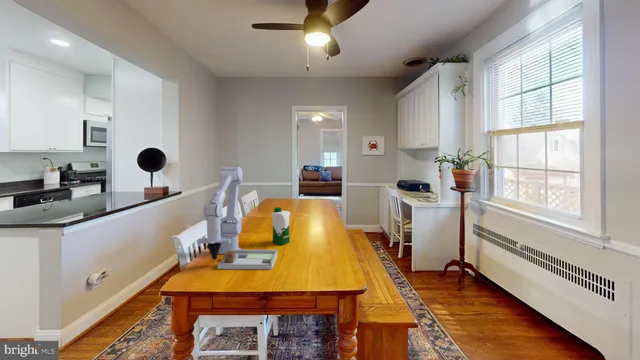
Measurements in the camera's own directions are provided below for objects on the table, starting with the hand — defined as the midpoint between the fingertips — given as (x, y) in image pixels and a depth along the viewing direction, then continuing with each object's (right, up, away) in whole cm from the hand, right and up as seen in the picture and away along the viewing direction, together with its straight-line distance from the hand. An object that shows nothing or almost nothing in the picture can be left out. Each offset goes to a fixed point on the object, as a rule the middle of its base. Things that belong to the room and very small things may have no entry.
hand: (214, 258), depth 128 cm
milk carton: (+26, 0, +31) cm, 41 cm away
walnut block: (+7, -1, 0) cm, 7 cm away
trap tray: (+15, -3, +3) cm, 16 cm away
